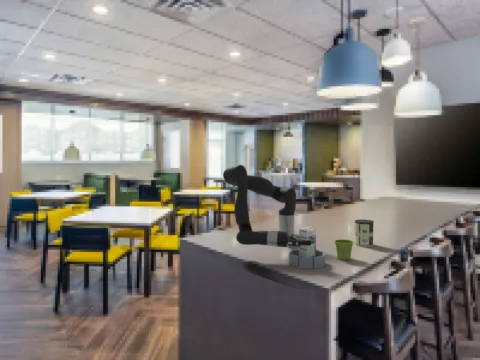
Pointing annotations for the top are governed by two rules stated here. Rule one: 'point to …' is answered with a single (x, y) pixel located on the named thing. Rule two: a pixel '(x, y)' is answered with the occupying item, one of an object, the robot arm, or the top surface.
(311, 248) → the syrup box
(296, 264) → the bowl
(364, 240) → the coffee can
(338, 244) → the plant pot
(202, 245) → the top surface
